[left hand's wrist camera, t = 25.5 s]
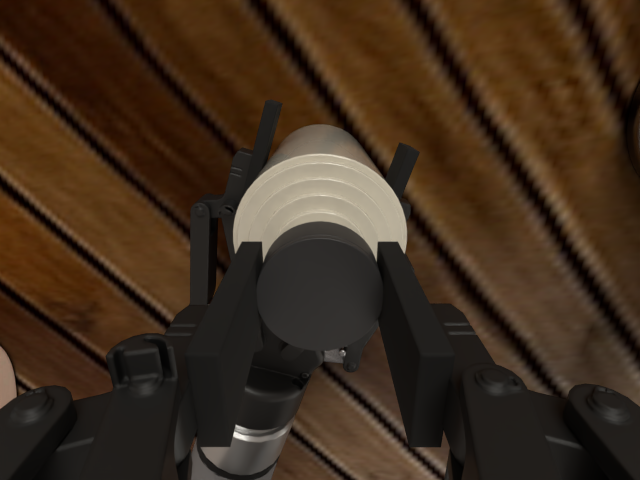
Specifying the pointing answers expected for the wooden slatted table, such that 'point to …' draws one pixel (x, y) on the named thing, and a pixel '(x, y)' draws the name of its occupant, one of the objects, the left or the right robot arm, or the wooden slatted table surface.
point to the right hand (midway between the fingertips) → (343, 125)
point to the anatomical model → (6, 379)
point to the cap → (319, 287)
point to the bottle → (320, 191)
